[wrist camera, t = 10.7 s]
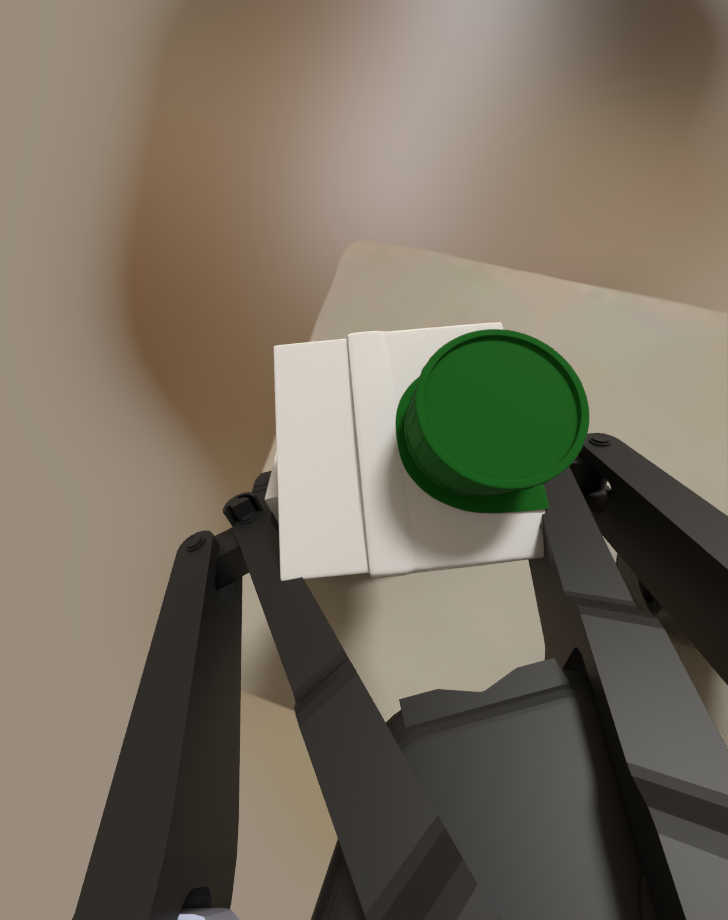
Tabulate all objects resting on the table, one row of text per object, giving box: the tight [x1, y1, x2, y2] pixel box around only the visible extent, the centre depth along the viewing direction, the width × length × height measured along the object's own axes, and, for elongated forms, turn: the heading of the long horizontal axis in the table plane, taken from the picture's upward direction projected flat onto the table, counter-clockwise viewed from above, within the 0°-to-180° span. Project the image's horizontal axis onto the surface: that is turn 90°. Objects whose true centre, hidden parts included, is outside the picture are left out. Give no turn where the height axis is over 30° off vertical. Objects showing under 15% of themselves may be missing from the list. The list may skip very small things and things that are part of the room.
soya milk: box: [274, 322, 589, 581], centre depth 16 cm, size 9×9×20 cm
